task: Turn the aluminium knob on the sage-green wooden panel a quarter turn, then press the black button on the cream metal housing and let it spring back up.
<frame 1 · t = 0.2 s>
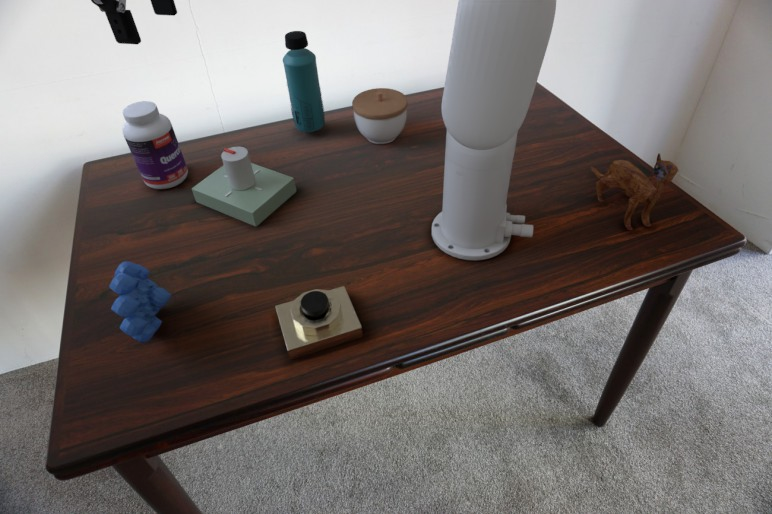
hand: (148, 28, 70), 31 cm above the table, tool pointing down, fingers open, 9 cm apart
pill bottle: (168, 179, 98), on the table
start button: (315, 305, 69), point 4 cm above the table, slide at 0.1 cm
trinket box: (381, 136, 106), on the table
blue lumpy lobed piece: (160, 329, 73), on the table
dial: (238, 167, 89), point 6 cm above the table, hinge at 0.0°
dial panel: (246, 196, 93), on the table
beverage bottle: (310, 131, 108), on the table
button box: (319, 326, 72), on the table
cat figurine: (616, 204, 88), on the table
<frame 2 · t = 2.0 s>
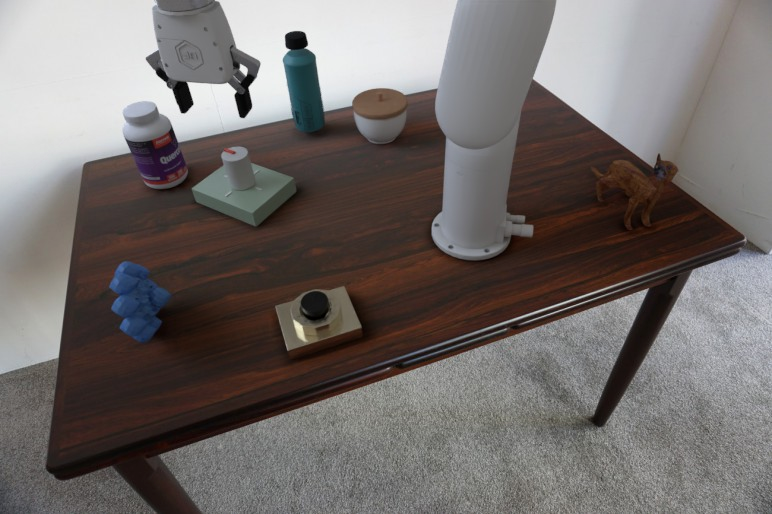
hand: (216, 111, 81), 17 cm above the table, tool pointing down, fingers open, 9 cm apart
nothing on the table moved.
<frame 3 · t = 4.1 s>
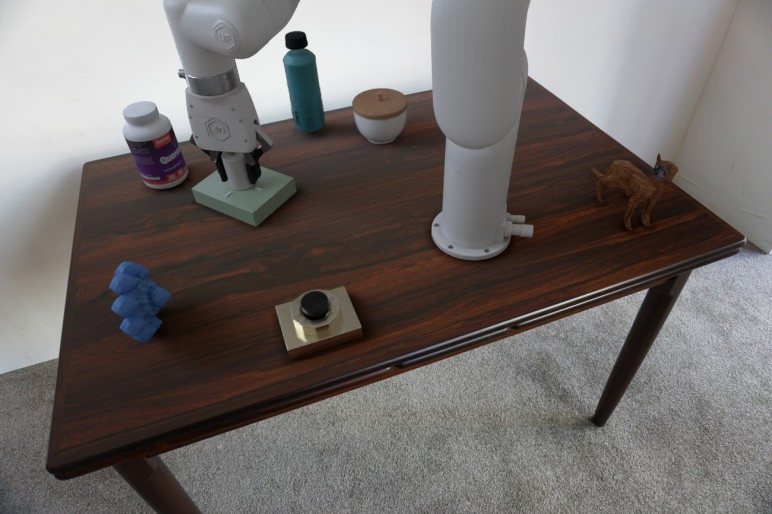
hand: (241, 177, 90), 4 cm above the table, tool pointing down, fingers closed on dial, 4 cm apart
dial: (238, 167, 89), point 6 cm above the table, hinge at 0.0°, touching gripper
everything else where it was.
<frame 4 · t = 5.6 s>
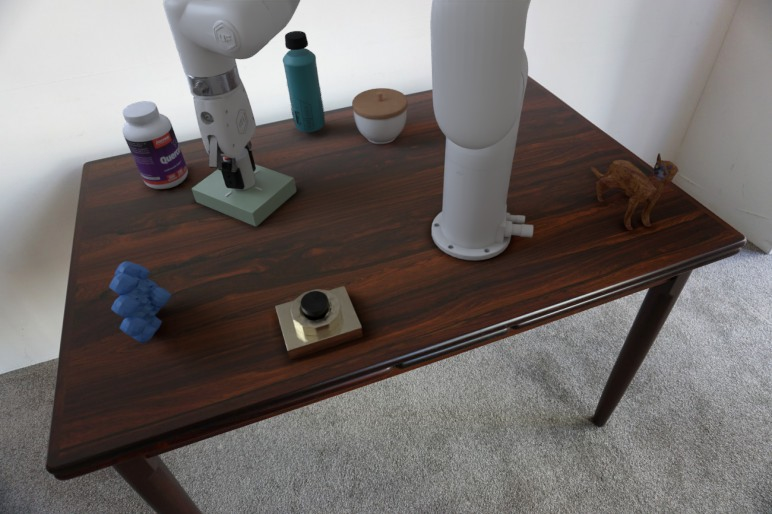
hand: (241, 177, 90), 4 cm above the table, tool pointing down, fingers closed on dial, 4 cm apart
dial: (238, 167, 89), point 6 cm above the table, hinge at 90.6°, touching gripper
everything else where it was.
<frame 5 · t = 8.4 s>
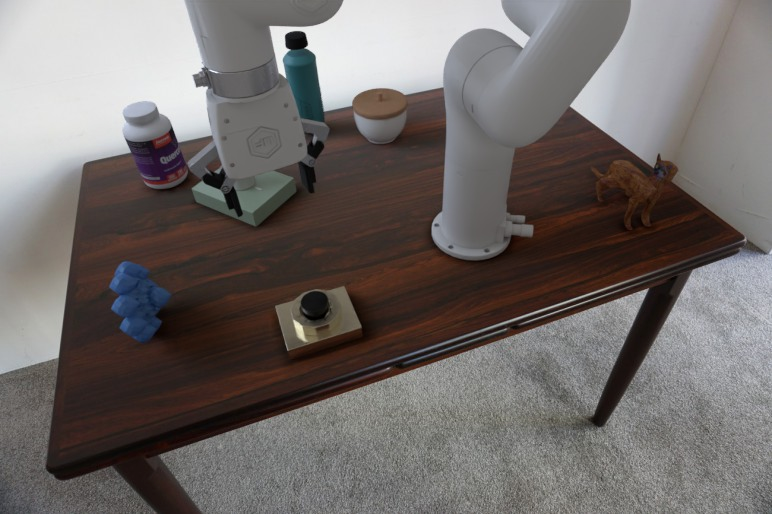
hand: (273, 199, 68), 15 cm above the table, tool pointing down, fingers open, 9 cm apart
dial: (238, 167, 89), point 6 cm above the table, hinge at 90.3°
everything else where it was.
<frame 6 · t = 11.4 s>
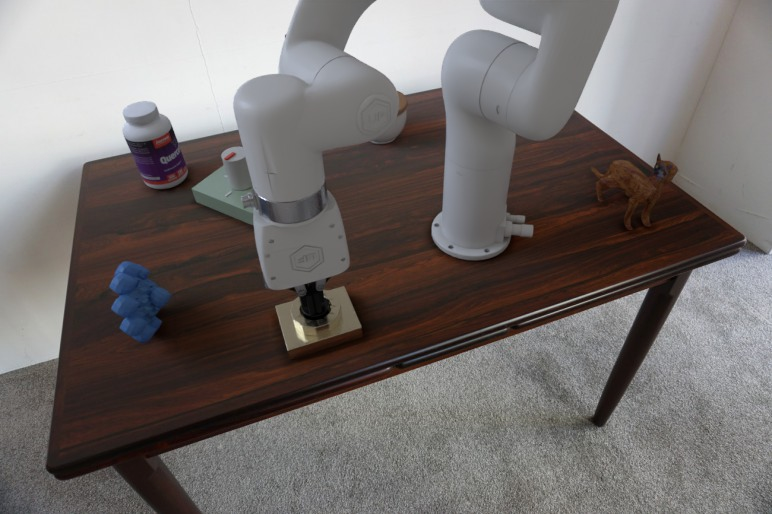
hand: (313, 306, 68), 4 cm above the table, tool pointing down, fingers closed
start button: (316, 309, 69), point 4 cm above the table, slide at -0.8 cm, touching gripper
everything else where it was.
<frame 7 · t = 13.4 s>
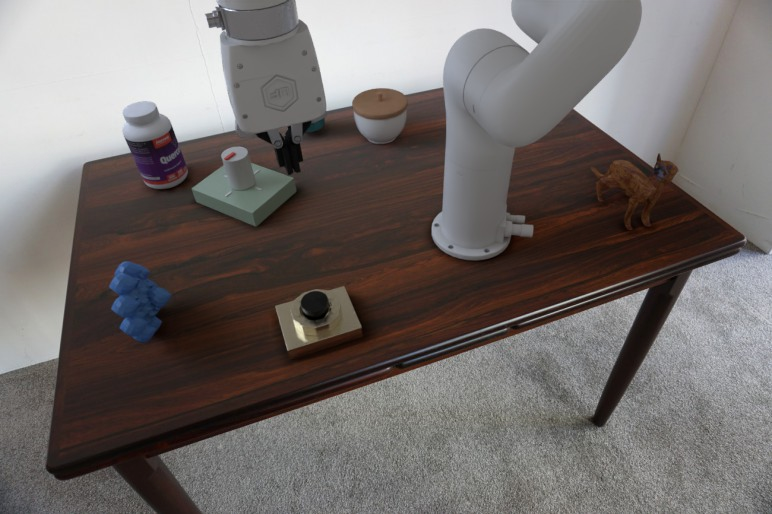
hand: (291, 167, 65), 19 cm above the table, tool pointing down, fingers closed
start button: (315, 305, 69), point 4 cm above the table, slide at 0.1 cm
everything else where it was.
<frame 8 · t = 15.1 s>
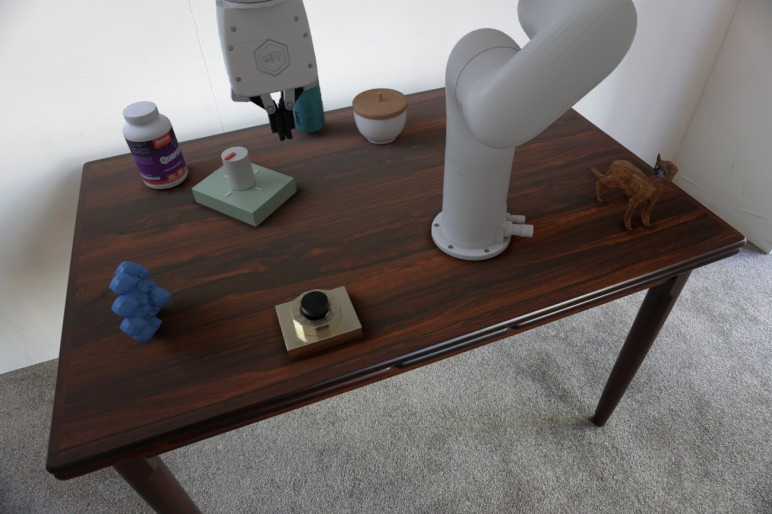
hand: (284, 134, 68), 21 cm above the table, tool pointing down, fingers closed
nothing on the table moved.
at the end: dial at +90° (first picture: +0°); start button pushed in 1.0 cm at the most during the clip, back to where it started at the end; start button slide at 0.1 cm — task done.
